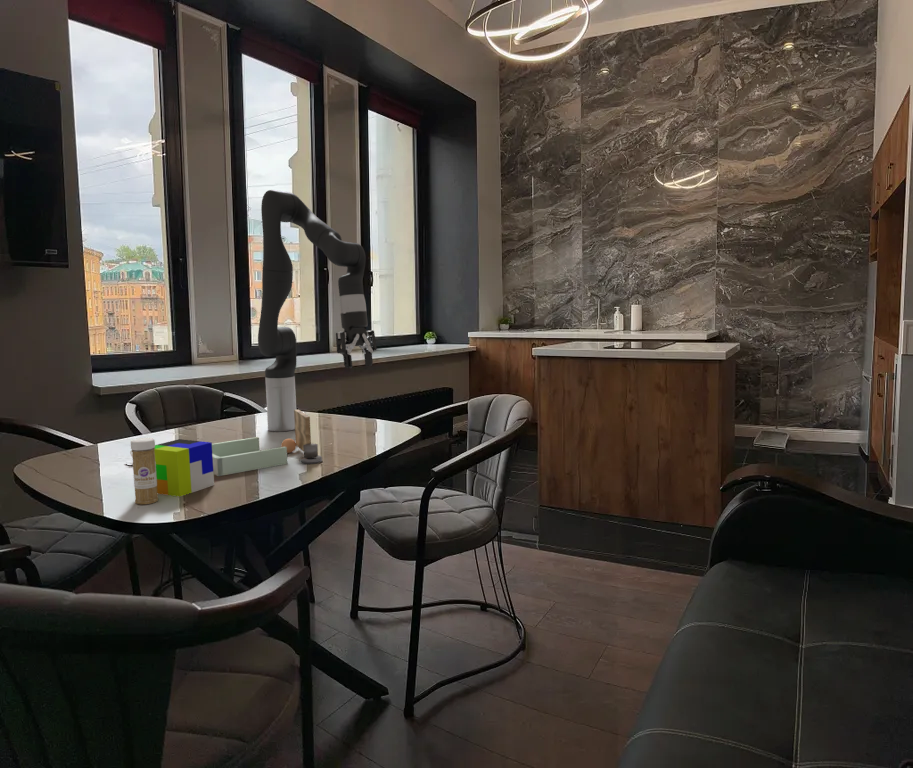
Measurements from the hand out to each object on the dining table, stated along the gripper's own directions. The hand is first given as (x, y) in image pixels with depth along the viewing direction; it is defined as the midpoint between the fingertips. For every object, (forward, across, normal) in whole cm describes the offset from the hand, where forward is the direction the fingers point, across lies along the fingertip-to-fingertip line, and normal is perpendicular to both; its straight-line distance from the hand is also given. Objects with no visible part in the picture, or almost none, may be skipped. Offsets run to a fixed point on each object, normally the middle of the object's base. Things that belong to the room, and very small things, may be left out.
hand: (359, 367), depth 195 cm
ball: (+20, +21, -10) cm, 30 cm away
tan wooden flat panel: (+21, +21, -3) cm, 30 cm away
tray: (+22, +36, -12) cm, 43 cm away
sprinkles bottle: (+24, +68, -1) cm, 72 cm away
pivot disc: (+23, +25, +3) cm, 34 cm away
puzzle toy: (+23, +58, -4) cm, 63 cm away
